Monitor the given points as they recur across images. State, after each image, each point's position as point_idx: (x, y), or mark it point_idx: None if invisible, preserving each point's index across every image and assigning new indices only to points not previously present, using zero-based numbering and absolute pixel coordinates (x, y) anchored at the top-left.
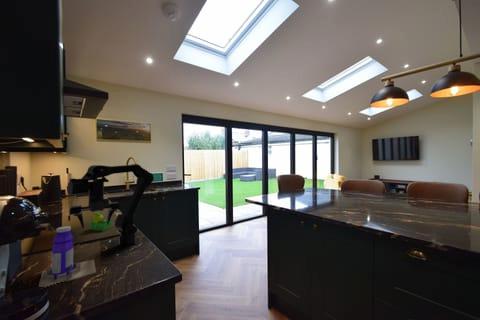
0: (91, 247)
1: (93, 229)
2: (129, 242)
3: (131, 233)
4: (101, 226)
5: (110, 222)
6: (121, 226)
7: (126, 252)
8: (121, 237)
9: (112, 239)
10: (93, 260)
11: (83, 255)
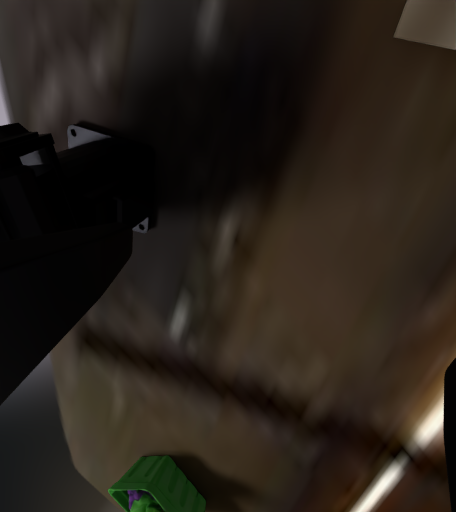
0: (286, 318)
1: (198, 496)
2: (92, 144)
3: (19, 129)
4: (165, 483)
5: (121, 482)
6: (21, 179)
7: (149, 7)
8: (111, 191)
9: (164, 329)
10: (407, 10)
11: (380, 232)
